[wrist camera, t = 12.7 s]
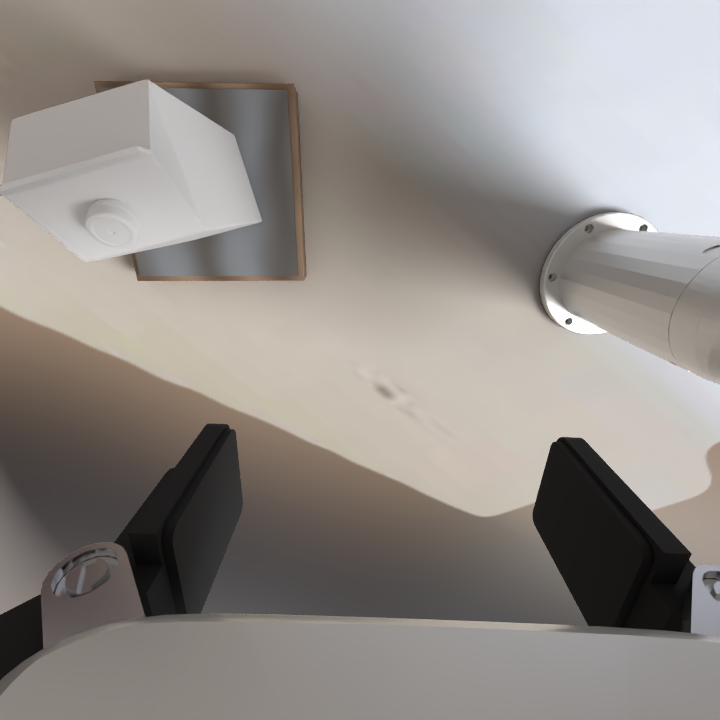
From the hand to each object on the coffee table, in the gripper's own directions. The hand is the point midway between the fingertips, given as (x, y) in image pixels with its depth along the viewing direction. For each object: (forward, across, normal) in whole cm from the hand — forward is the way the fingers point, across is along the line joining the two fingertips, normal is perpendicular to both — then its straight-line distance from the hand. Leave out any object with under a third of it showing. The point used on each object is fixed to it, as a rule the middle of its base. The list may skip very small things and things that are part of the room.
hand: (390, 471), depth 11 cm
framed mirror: (+30, +15, -8) cm, 35 cm away
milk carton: (+27, +15, -8) cm, 32 cm away
